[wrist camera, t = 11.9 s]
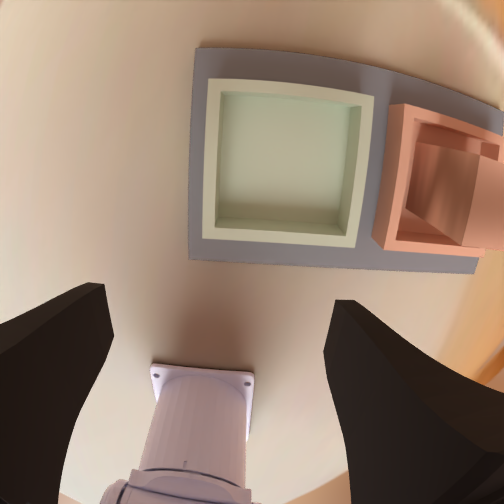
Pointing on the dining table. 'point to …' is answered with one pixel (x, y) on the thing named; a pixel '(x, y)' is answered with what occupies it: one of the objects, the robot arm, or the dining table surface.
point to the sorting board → (321, 161)
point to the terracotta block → (459, 195)
